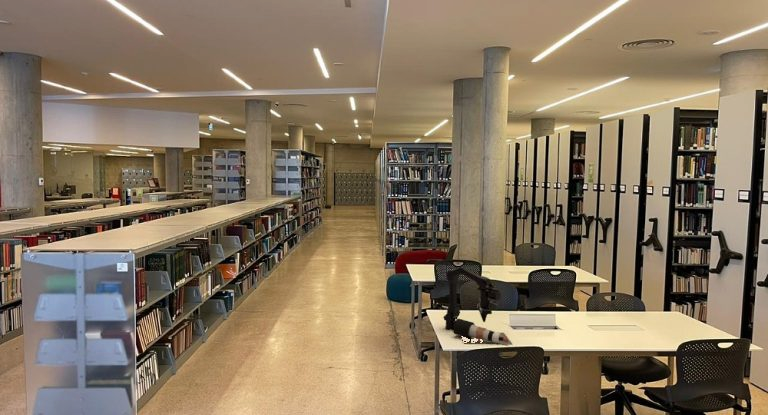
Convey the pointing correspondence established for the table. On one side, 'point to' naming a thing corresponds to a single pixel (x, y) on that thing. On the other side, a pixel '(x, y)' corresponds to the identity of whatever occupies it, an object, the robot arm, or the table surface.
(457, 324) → the banded tapered cylinder
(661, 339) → the table surface
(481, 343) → the plate
